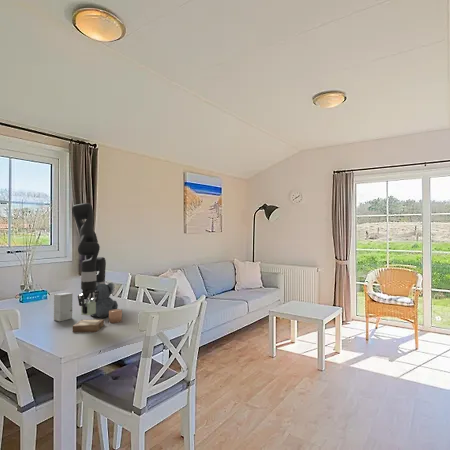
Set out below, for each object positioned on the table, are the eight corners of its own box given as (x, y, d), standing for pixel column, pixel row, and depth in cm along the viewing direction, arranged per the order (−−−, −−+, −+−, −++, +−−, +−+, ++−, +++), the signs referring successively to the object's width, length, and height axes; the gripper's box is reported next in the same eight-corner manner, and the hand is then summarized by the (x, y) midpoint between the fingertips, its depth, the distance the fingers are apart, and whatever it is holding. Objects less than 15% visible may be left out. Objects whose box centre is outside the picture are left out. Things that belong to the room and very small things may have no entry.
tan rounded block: (113, 319, 197) (114, 308, 198) (124, 320, 195) (124, 309, 195) (106, 322, 191) (106, 311, 191) (117, 323, 189) (117, 312, 189)
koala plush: (117, 310, 219) (117, 279, 219) (118, 317, 202) (118, 284, 202) (88, 312, 213) (88, 281, 213) (86, 319, 196) (86, 285, 196)
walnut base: (81, 325, 185) (81, 319, 185) (103, 324, 186) (103, 319, 186) (72, 332, 173) (72, 325, 173) (96, 331, 174) (96, 325, 174)
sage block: (87, 312, 182) (88, 301, 183) (95, 313, 181) (95, 301, 181) (81, 314, 178) (81, 303, 178) (89, 315, 176) (89, 303, 176)
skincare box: (59, 321, 192) (59, 295, 192) (53, 320, 195) (53, 294, 195) (73, 318, 199) (73, 292, 199) (66, 317, 202) (66, 291, 202)
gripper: (92, 277, 187) (91, 308, 187) (73, 281, 174) (72, 315, 174) (103, 278, 185) (103, 309, 185) (85, 282, 171) (85, 316, 171)
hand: (88, 312), depth 179 cm, fingers closed on sage block, 5 cm apart
